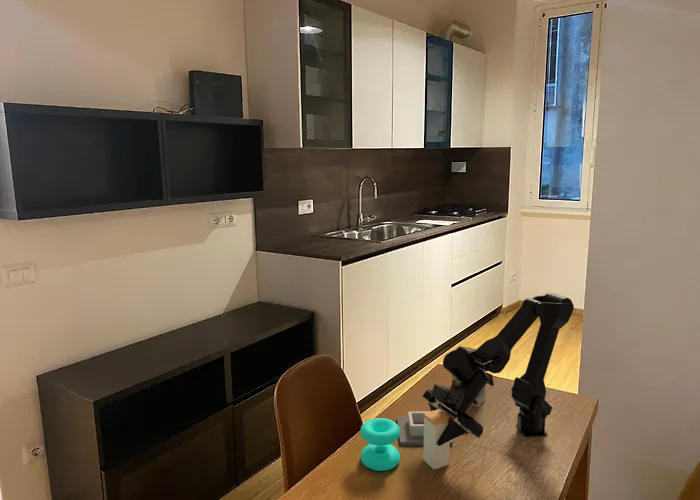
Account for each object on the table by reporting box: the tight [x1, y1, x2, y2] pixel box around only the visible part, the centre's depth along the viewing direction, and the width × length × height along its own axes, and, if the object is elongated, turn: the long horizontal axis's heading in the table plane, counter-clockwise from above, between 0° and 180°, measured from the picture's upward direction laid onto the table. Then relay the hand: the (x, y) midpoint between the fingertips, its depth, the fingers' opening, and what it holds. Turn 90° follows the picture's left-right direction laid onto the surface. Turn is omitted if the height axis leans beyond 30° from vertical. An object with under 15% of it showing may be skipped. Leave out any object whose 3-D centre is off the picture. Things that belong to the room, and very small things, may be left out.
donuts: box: [359, 417, 401, 472], centre depth 138 cm, size 10×10×10 cm
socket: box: [396, 410, 454, 446], centre depth 152 cm, size 14×14×4 cm
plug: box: [423, 409, 452, 471], centre depth 137 cm, size 5×5×13 cm
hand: (431, 440), depth 136 cm, fingers closed on plug, 5 cm apart
